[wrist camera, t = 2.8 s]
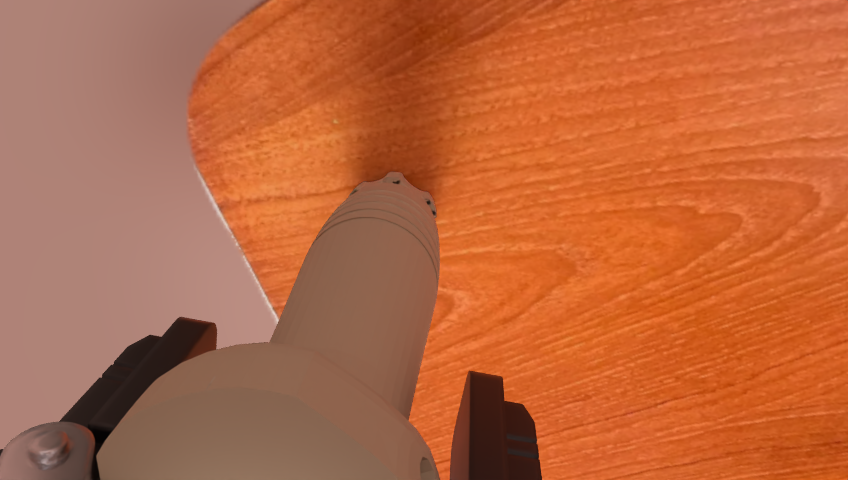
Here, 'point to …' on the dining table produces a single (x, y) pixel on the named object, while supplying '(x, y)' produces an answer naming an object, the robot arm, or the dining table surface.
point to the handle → (308, 366)
